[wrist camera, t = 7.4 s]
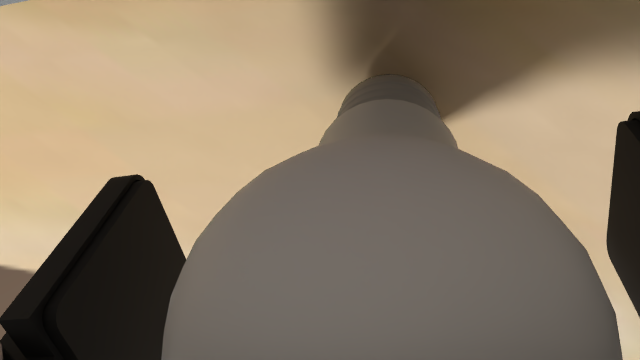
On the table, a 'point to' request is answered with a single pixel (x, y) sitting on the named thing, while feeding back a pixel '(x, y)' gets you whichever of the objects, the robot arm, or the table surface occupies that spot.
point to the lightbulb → (388, 254)
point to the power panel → (9, 2)
